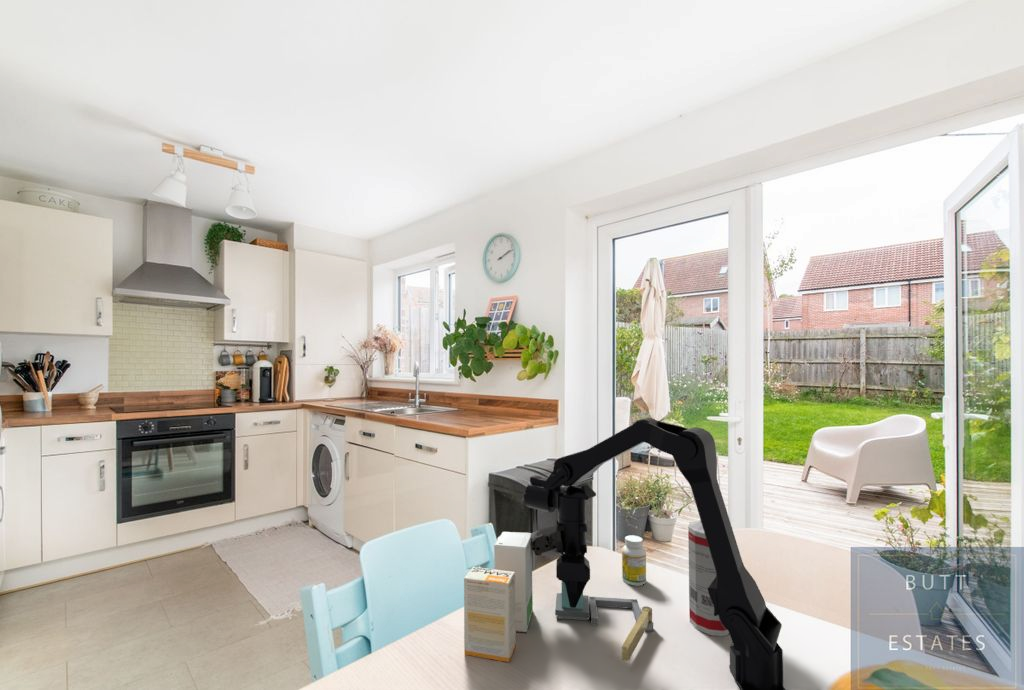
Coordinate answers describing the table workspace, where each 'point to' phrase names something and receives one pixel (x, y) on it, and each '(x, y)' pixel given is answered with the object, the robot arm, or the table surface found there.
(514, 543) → the skincare box
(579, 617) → the pad
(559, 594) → the plug
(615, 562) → the table surface
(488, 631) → the supplement box
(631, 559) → the supplement bottle
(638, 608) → the socket
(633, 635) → the clip
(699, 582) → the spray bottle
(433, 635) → the table surface
